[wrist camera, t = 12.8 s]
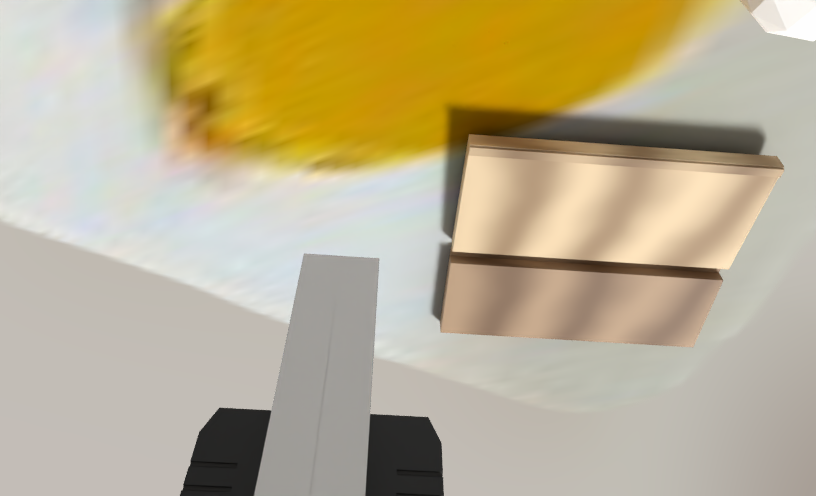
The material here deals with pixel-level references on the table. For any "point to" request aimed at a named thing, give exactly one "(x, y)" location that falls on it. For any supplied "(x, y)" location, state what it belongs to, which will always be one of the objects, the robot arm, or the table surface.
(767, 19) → the ornament
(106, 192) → the table surface
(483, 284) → the laid strip
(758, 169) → the plank
